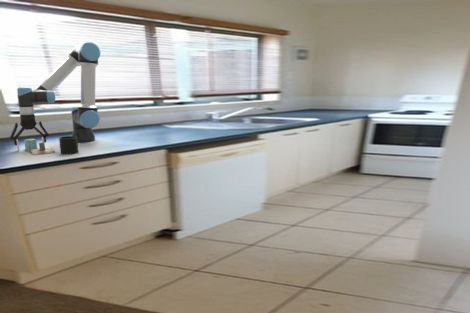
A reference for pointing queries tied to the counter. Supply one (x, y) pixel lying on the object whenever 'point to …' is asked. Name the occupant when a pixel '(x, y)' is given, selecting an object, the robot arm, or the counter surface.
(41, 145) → the post block
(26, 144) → the cap
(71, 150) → the mug
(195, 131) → the counter surface
